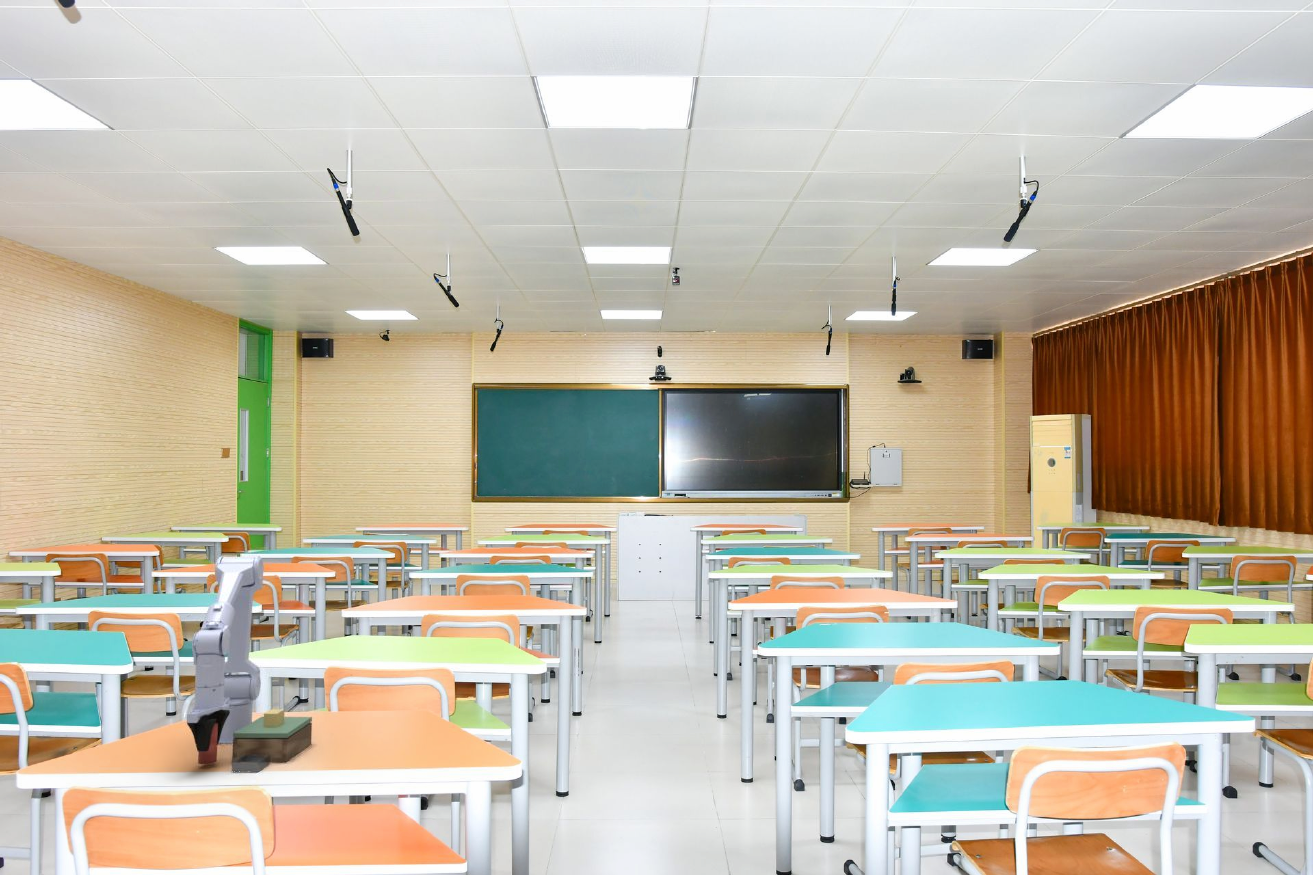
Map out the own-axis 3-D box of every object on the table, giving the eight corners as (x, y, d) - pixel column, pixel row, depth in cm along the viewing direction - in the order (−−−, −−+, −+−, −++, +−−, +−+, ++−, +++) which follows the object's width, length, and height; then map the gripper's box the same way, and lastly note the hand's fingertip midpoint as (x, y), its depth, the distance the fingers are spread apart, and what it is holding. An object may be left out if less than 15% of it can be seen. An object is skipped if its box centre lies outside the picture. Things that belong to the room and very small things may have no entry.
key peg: (194, 764, 190) (196, 726, 190) (203, 759, 194) (204, 722, 194) (211, 764, 190) (212, 726, 190) (219, 759, 194) (220, 722, 194)
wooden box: (232, 762, 195) (232, 739, 195) (260, 743, 209) (261, 722, 209) (286, 762, 195) (286, 739, 195) (311, 743, 209) (311, 722, 209)
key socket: (231, 771, 188) (232, 762, 188) (244, 763, 193) (244, 754, 194) (257, 772, 188) (258, 762, 188) (269, 763, 193) (269, 754, 194)
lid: (232, 737, 195) (233, 719, 195) (261, 720, 209) (261, 703, 209) (287, 737, 195) (287, 719, 195) (311, 721, 209) (312, 704, 209)
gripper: (211, 692, 185) (209, 758, 185) (243, 677, 200) (241, 738, 199) (177, 692, 185) (175, 758, 185) (212, 677, 200) (210, 738, 199)
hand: (207, 747), depth 192 cm, fingers closed on key peg, 4 cm apart
